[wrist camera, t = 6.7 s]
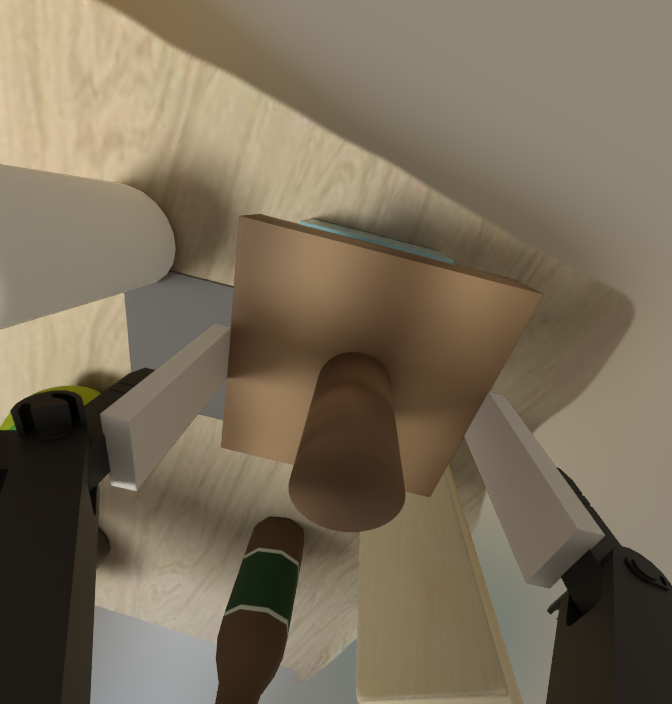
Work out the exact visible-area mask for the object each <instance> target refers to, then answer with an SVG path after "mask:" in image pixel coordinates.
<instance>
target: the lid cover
mask: <svg viewBox="0 0 672 704" xmlns="http://www.w3.org/2000/svg"><path fill="white" fill-rule="evenodd" d="M543 295H544V294H542V293H540V292H538V291H536V290H534V289H532V288H530V287H528V286H526V285H524V284H522V283H520V282H518V281H516V280H513V279H509V278H505V277H502V276H498V275H494V274H490V273H486V272H482V271H478V270H475V269H471V268H467V267H463V266H459V265H455V264H451V263H447V262H444V261H440V260H436V259H432V258H428V257H424V256H420V255H417V254H413V253H409V252H405V251H401V250H397V249H393V248H389V247H386V246H382V245H378V244H374V243H370V242H366V241H362V240H359V239H355V238H351V237H347V236H343V235H339V234H335V233H331V232H328V231H324V230H320V229H316V228H312V227H308V226H304V225H301V224H297V223H293V222H289V221H285V220H281V219H277V218H273V217H270V216H266V215H262V214H255V215H244V216H239V227H238V240H237V253H236V265H235V278H234V291H233V303H232V316H231V334H230V347H229V359H228V372H227V379H226V392H225V405H224V417H223V430H222V443H221V447H222V448H226V449H230V450H234V451H238V452H242V453H247V454H251V455H255V456H259V457H263V458H267V459H272V460H276V461H280V462H284V463H288V464H292V465H294V466H293V470H292V473H291V477H290V481H289V494H290V498H291V500H292V502H293V504H294V505H295V507H296V508H297V509H298V511H299V512H300V513H301V514H302V515H304V516H305V517H306V518H308V519H309V520H311V521H312V522H314V523H316V524H318V525H320V526H323V527H325V528H329V529H332V530H337V531H344V532H362V531H368V530H372V529H376V528H378V527H381V526H383V525H385V524H387V523H389V522H390V521H392V520H393V519H394V518H395V517H396V516H397V515H398V514H399V513H400V511H401V510H402V508H403V505H404V503H405V493H406V492H409V493H413V494H417V495H421V496H426V497H431V495H432V493H433V491H434V490H435V488H436V486H437V484H438V483H439V481H440V479H441V477H442V475H443V474H444V472H445V470H446V468H447V466H448V465H449V463H450V461H451V459H452V458H453V456H454V454H455V452H456V450H457V449H458V447H459V445H460V443H461V441H462V440H463V438H464V435H465V434H466V432H467V430H468V428H469V426H470V425H471V423H472V421H473V419H474V417H475V416H476V414H477V412H478V410H479V408H480V407H481V405H482V403H483V401H484V400H485V398H486V396H487V394H488V392H490V390H491V388H492V386H493V384H494V383H495V381H496V379H497V377H498V375H499V374H500V372H501V370H502V368H503V367H504V365H505V363H506V361H507V359H508V358H509V356H510V354H511V352H512V350H513V349H514V347H515V345H516V343H517V342H518V340H519V338H520V336H521V334H522V333H523V331H524V329H525V327H526V325H527V324H528V322H529V320H530V318H531V317H532V315H533V313H534V311H535V309H536V308H537V306H538V304H539V302H540V300H541V299H542V297H543Z"/></svg>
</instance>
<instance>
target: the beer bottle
mask: <svg viewBox="0 0 672 704" xmlns="http://www.w3.org/2000/svg"><path fill="white" fill-rule="evenodd" d="M303 545H304V532H303V529H302V528H300V527H299V526H298V525H296V524H295V523H294V522H293V521H291V520H290V519H285V518H276V517H269V518H267V519H265V520H264V521H262V522H260V523H258V524H257V525H256V526H255V528H254V530H253V533H252V535H251V538H250V541H249V544H248V546H247V549H246V552H245V555H244V558H243V561H242V564H241V567H240V570H239V573H238V576H237V578H236V581H235V584H234V587H233V590H232V593H231V596H230V599H229V602H228V605H227V607H226V610H225V613H224V616H223V620H222V623H221V627H220V631H219V634H218V638H217V653H216V663H217V671H218V680H219V685H218V691H217V697H216V702H215V704H258V701H259V698H260V695H261V694H262V693H263V692H264V690H265V689H266V687H267V686H268V685H269V683H270V682H271V681H272V679H273V678H274V676H275V674H276V672H277V670H278V667H279V665H280V663H281V661H282V659H283V655H284V651H285V646H286V642H287V638H288V633H289V627H290V621H291V616H292V610H293V605H294V599H295V593H296V588H297V582H298V577H299V571H300V566H301V560H302V553H303Z"/></svg>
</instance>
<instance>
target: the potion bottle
mask: <svg viewBox="0 0 672 704" xmlns="http://www.w3.org/2000/svg"><path fill="white" fill-rule="evenodd" d="M175 251H176V247H175V240H174V233H173V231H172V228H171V226H170V223H169V221H168V219H167V217H166V215H165V214H164V213H163V211H162V210H161V209H160V207H159V206H158V205H157V203H156V202H154V201H153V200H152V199H151V198H149V197H148V196H147V195H146V194H145V193H143V192H142V191H140V190H137V189H135V188H133V187H131V186H128V185H126V184H122V183H115V182H109V181H103V180H97V179H90V178H84V177H78V176H71V175H65V174H59V173H53V172H46V171H40V170H34V169H27V168H21V167H15V166H9V165H2V164H0V329H4V328H7V327H10V326H14V325H17V324H20V323H24V322H27V321H30V320H34V319H37V318H40V317H44V316H47V315H50V314H54V313H57V312H60V311H64V310H67V309H70V308H74V307H77V306H80V305H84V304H87V303H90V302H94V301H97V300H100V299H104V298H107V297H110V296H114V295H117V294H120V293H124V292H127V291H130V290H134V289H137V288H140V287H144V286H147V285H150V284H154V283H156V282H157V281H159V280H160V279H161V278H163V277H164V276H165V275H167V273H168V271H169V270H170V268H171V266H172V265H173V262H174V256H175Z"/></svg>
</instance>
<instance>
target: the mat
mask: <svg viewBox="0 0 672 704" xmlns="http://www.w3.org/2000/svg"><path fill="white" fill-rule="evenodd" d="M233 291H234V287H232V286H228V285H224V284H220V283H216V282H212V281H208V280H204V279H200V278H196V277H192V276H188V275H184V274H180V273H176V272H172V271H168V273H167V275H165V276H164V277H163V278H161V279H160V280H159V281H157V282H156V283H154V284H150V285H147V286H144V287H140V288H137V289H134V290H130V291H127V292H124V294H125V305H126V316H127V328H128V339H129V350H130V361H131V372H134V371H137V370H139V369H142V368H149V369H154V370H156V369H158V368H159V367H160V366H161V365H163V364H164V363H165V362H166V361H168V360H169V359H170V358H172V357H173V356H174V355H175V354H177V353H178V352H179V351H180V350H182V349H183V348H184V347H185V346H187V345H188V344H189V343H191V342H192V341H193V340H194V339H196V338H197V337H198V336H199V335H201V334H202V333H203V332H204V331H206V330H207V329H208V328H210V327H211V326H212V325H213V324H215V323H216V324H220V325H224V326H228V327H231V316H232V303H233ZM225 392H226V380H225V381H224V382H223V384H222V385H221V386H220V387H219V389H218V390H217V391H216V392H215V394H214V395H213V396H212V397H211V399H210V400H209V401H208V402H207V404H206V405H205V406H204V407H203V409H202V410H201V411H200V412H199V414H200V415H204V416H208V417H213V418H217V419H221V420H223V417H224V405H225Z"/></svg>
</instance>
